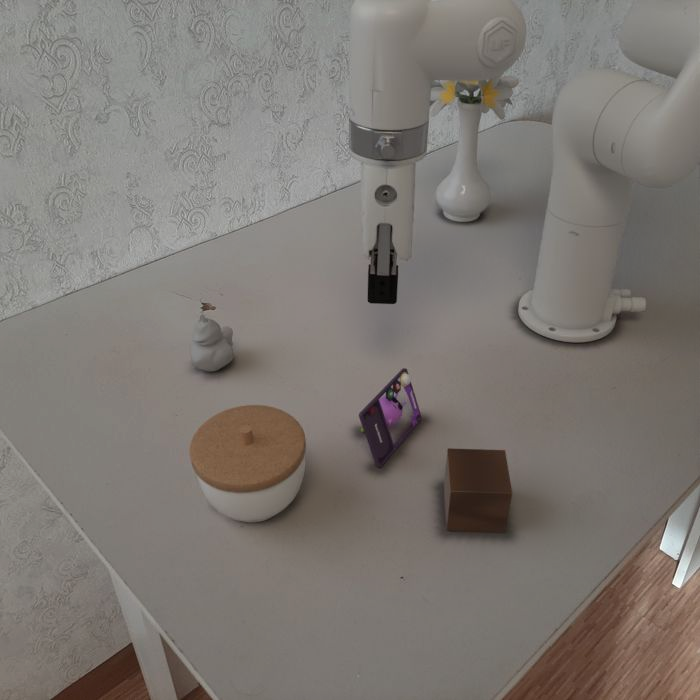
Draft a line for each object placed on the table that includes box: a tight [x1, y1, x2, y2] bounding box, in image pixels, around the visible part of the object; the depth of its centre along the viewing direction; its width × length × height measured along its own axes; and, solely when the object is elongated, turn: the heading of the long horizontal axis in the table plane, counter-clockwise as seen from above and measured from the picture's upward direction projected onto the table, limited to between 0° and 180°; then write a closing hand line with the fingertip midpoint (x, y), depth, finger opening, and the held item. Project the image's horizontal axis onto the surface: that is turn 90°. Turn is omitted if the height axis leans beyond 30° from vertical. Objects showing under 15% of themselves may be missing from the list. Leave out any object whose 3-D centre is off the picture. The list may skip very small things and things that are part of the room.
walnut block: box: [443, 447, 513, 534], centre depth 68 cm, size 6×6×6 cm
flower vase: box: [430, 73, 520, 223], centre depth 114 cm, size 13×18×25 cm
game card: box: [358, 367, 423, 468], centre depth 77 cm, size 7×5×9 cm
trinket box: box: [189, 404, 307, 524], centre depth 68 cm, size 11×11×9 cm
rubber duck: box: [189, 313, 234, 372], centre depth 86 cm, size 5×7×8 cm
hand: (382, 299), depth 79 cm, fingers closed
